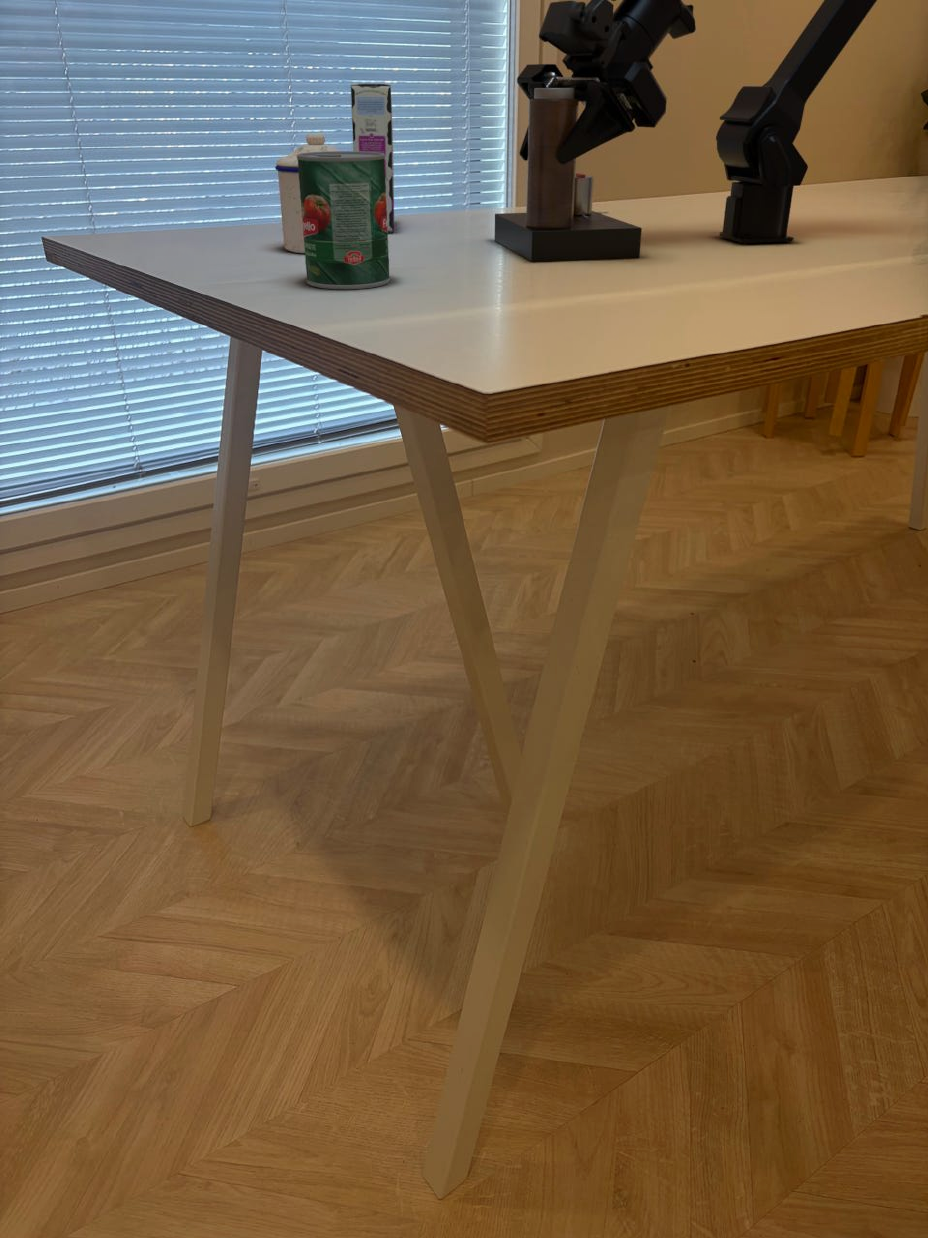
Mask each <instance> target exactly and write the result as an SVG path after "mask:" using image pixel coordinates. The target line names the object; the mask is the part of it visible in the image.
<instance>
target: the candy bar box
mask: <svg viewBox="0 0 928 1238" xmlns="http://www.w3.org/2000/svg"><path fill="white" fill-rule="evenodd" d="M349 88H350V105H351V106H350V107H351V123H352V124H351V125H352V126H351V128H352V129H351V130H352V151H363V152H379V153H384V154H385V175H386V179H385V182H386V204H387V223H388V225H387V230H388V233H394V231H395V191H394V189H395V183H394V181H395V180H394V176H395V175H394V173H395V172H394V171H395V170H394V135H393V132H394V131H393V103H392V86H391V84H387V83H352V84H350V87H349Z"/></svg>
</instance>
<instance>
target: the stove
mask: <svg viewBox="0 0 928 1238" xmlns="http://www.w3.org/2000/svg"><path fill="white" fill-rule="evenodd" d="M609 213H610V212H609V211H595V210H594V211H593V210H592V214H590V215H582V216H573V226H572V227H569V228H560V229H541V228H531V227H528V226H526V212H505V213H504V212H503V213H494V241H495V242H496V243H498V244H500V245H501V246H503V247H504V248H507V249H508V250H510V251H511V252H513V253H515V254H516V255H519V256H520V257H522V258H524V259H525V260H527V261H529V262H531V263H542V262H543V263H544V262H565V261H567V262H568V261H569V262H570V261H590V260H616V259H619V260H620V259H640V255H641V243H642V231H643V229H642V227H640V226H637V225H634V224H631V223H628V222H626V221H623V220H621V219H617V218H614V217H611V216H608V215H607V214H609Z"/></svg>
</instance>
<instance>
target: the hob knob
mask: <svg viewBox="0 0 928 1238" xmlns="http://www.w3.org/2000/svg"><path fill="white" fill-rule="evenodd" d="M594 182H595V177H594V175H591V174H590V175H589V174H585V173H581V172H579V173H576V172H575V190H574V211H573V216H582V215H590V214H592V211H593V198H594Z"/></svg>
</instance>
